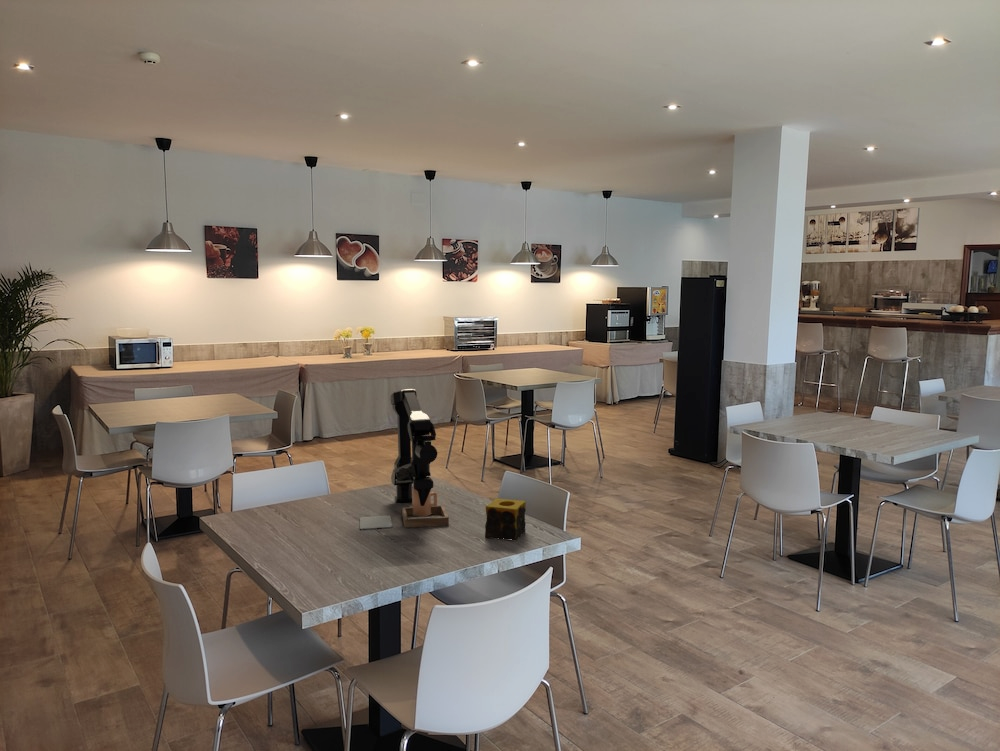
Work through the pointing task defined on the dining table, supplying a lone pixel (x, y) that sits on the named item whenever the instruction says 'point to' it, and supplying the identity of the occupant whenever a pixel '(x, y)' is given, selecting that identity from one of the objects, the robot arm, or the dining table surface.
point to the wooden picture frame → (426, 521)
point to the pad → (375, 522)
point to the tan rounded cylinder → (425, 509)
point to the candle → (505, 519)
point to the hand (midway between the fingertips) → (421, 503)
